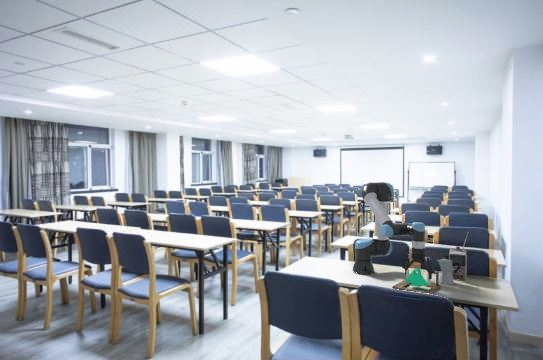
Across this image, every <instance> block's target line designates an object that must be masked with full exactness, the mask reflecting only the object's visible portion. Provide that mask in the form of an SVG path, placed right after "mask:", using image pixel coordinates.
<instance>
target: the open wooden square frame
mask: <svg viewBox="0 0 543 360" xmlns="http://www.w3.org/2000/svg"><path fill="white" fill-rule="evenodd" d="M439 272H440V271H435V273H434V274H433V275H435V284H433V283H430V284H429V285H427V286H426V287H428V288H429V289H427V290H426V291H423V290H417V289H413V288H409V287H408V286H410V285H412V284H411V283H406V278H405V279H404V280H401V281H400V282H398V283H396V284H394V285H392V286H391V289H393V288H395V289H394V290H397V289H400V290H399V291H402V290H407V291H414V292H421V293H429V294H431V295H433V294H435V292H437V291H439V290H440V289H441V285H440V284H439V283H440V282H439V279H440V274H439ZM407 291H406V292H407Z"/></svg>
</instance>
